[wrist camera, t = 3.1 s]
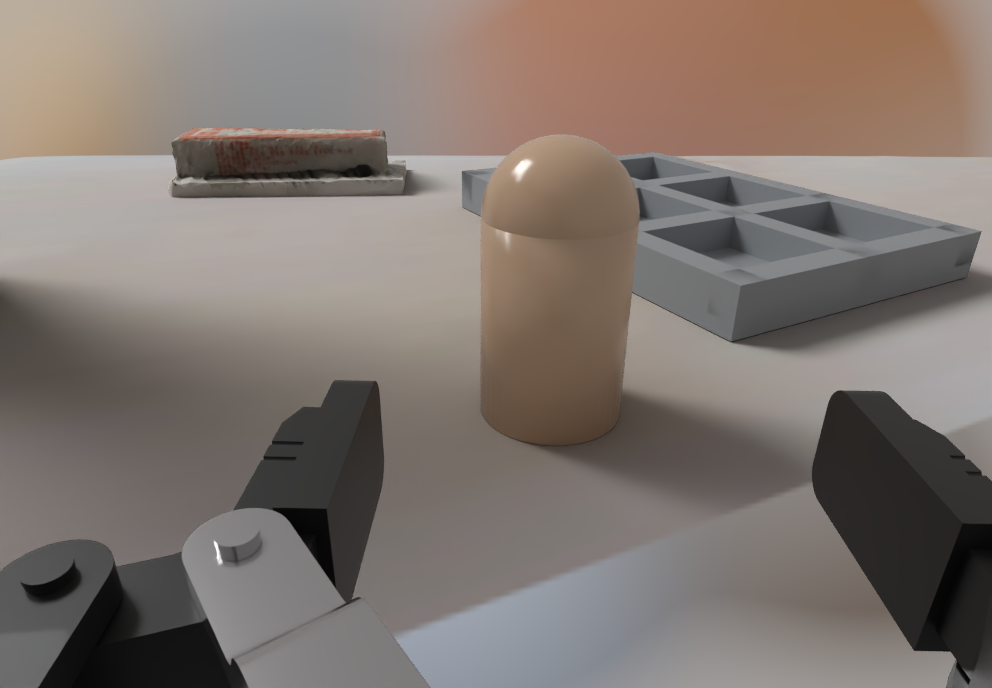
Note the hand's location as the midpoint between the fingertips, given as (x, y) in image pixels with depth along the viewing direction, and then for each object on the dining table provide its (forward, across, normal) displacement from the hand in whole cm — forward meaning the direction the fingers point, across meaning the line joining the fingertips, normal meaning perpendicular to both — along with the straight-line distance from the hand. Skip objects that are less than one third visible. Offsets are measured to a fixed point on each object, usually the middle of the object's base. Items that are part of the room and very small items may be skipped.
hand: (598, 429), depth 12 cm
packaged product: (+47, +19, +7) cm, 51 cm away
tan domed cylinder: (+11, 0, +6) cm, 13 cm away
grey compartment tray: (+33, -9, +6) cm, 34 cm away
